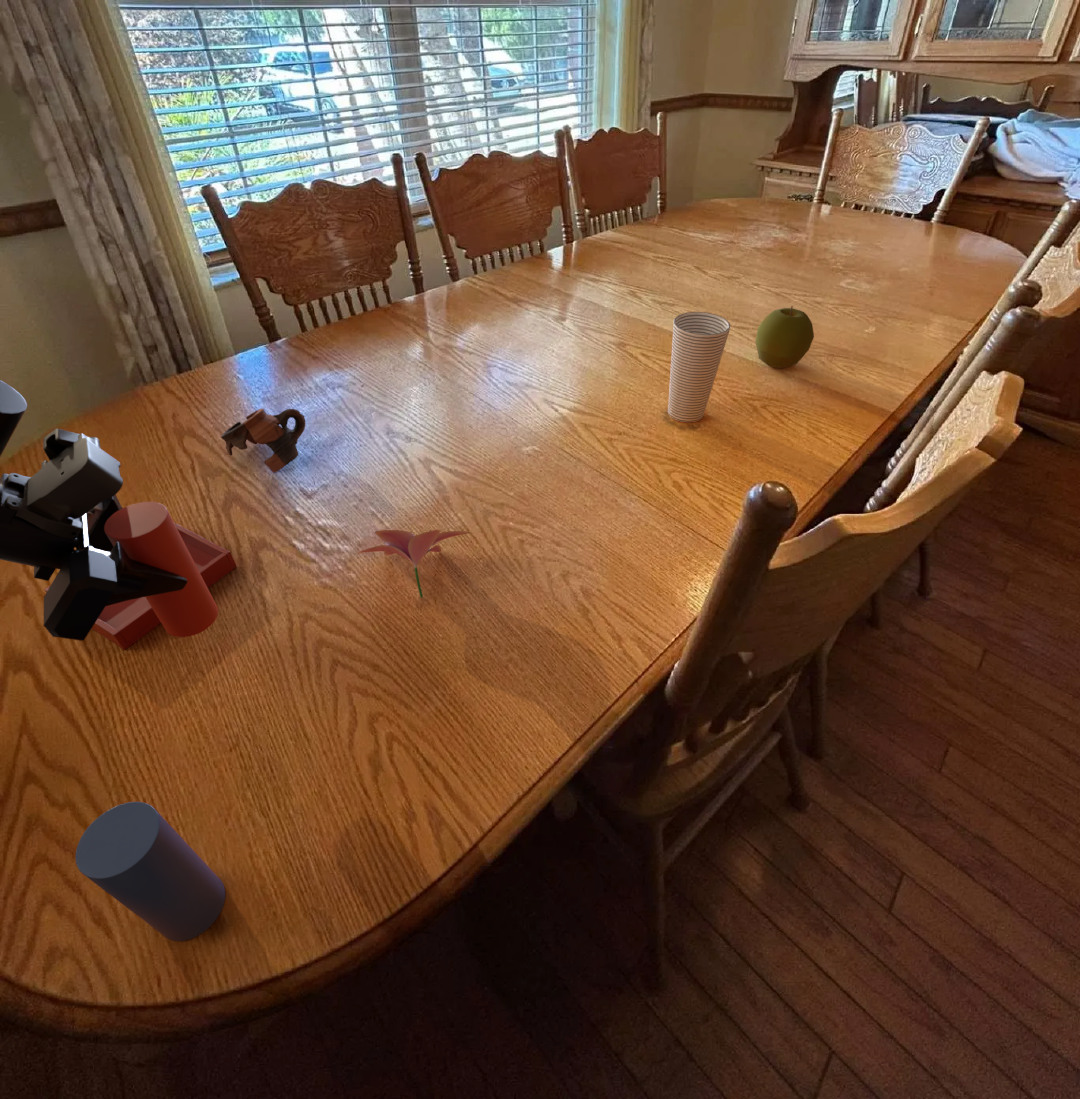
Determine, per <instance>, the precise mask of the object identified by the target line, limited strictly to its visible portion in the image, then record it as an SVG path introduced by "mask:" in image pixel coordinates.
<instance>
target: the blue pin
mask: <svg viewBox="0 0 1080 1099" xmlns="http://www.w3.org/2000/svg"><path fill="white" fill-rule="evenodd" d="M75 864H76V867H77V869H78V871H79V872H80V873H81V874H82V875H83V876H84V877H86V878H87V879H89V880H90V881H91V882H93V883H94V884H95V885H97V886H98V887H99V888H100V889H102V890H103V891H104V892H106V893H107V894H108V895H110V897H112V898H114V899H115V900H116V901H118V902H119V903H120V904H121V905H123V906H124V907H125V908H126V909H128V910H129V911H131V912H132V913H133V914H135V915H136V916H137V917H138V918H140V919H141V920H143V921H144V922H145V923H147V924H148V925H149V926H150V927H151V928H153V929H154V930H156V931H157V932H158V933H160V934H161V936H164V937H165V938H166V939H168V940H170V941H174V942H185V941H189V940H192V939H195V938H196V937H199V936H200V935H202V934H203V933H204V932H206V931H207V930H208V929H209V928H211V926H212V925H213V924H214V923H215V922H216V920H217V919H218V917H219V916H220V914H221V912H222V910H223V907H224V906H225V901H226V889H225V888H226V887H225V885H224V883H223V881H222V880H221V878H220V877H219V876H218V875H217V873H215V872H214V871H213V870H212V869H211V868H210V866H209V865H207V863H206V862H205V861H204V860H203V859H202V858H201V857H200V856H199V855H198V854H197V852H195V850H194V848H192V847H191V846H190V845H189V844H188V843H187V842H186V841H185V840H184V839H183V837H182V836H181V835H180V834H179V833H178V832H177V831H176V830H175V829H174V828H173V827H172V826H171V825H170V824H169V822H168V821H167V820H166V819H165V818H164V817H163V816H162V815H161V814H160V813H159V812H158V810H157V809H156V808H154V807H153V806H152V805H151V804H149V803H146V802H143V801H128V802H125V803H121V804H118V805H115V806H113V807H111V808H109V809H108V810H106V811H104V812H103V813H102V814H100V815H99V816H98V817H97V818H96V819H94V820H93V821H92V822H91V823H90V824H89V826H87V828H86V829H85V831H84V832H83V833H82V835H81V837H80V839H79V841H78V843H77V846H76V849H75Z"/></svg>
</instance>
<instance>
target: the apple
mask: <svg viewBox="0 0 1080 1099" xmlns="http://www.w3.org/2000/svg"><path fill="white" fill-rule="evenodd" d="M814 337H815V333H814V327H813V323H812V321H811V318H810V317H809V316H808V314H807V313H806V312H804V310H803V311H802V310H800V309H797V308H793V305H791V307H782V308H776V309H773V311H771V312H769V313H768V314H767V315H766V316H765V317H764V318H763V319H762V321H761V322H760V324H759V325H758V327H757V330H756V336H755V341H754V342H755V346H756V350H757V355H758V359H759V360H760V361H761V362H763V363H764V364H765V365H767V366H768V367H771V368H776V369H778V368H779V369H780V368H786V367H792V366H794V365H797V364H798V363H799V362H800V361H801V360H802V359H803V357H804V356H806V354H807V353H808V352H809V350H810V348H811V346H812V344H813V340H814Z"/></svg>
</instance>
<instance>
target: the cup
mask: <svg viewBox="0 0 1080 1099" xmlns="http://www.w3.org/2000/svg"><path fill="white" fill-rule="evenodd" d="M672 325H673V326H672V339H671V353H670V354H671V358H670V368H669V370H670V371H669V373H670V374H669V384H668V386H669V387H668V402H667V414H668V416H669V417H670V418H672V419H673V420H675V421H677V422H681V423H695V422H698V421H701V420H702V419H703V417H704V416H705V413H706V409H707V406H708V403H709V400H710V396H711V393H712V390H713V386H714V384H715V380H716V377H717V374H718V370H719V367H720V363H721V360H722V357H723V353H724V350H725V347H726V343H727V340H728V337H729V334H730V330H731V323H730V322H729V321H728V319H726V318H725V317H722V316H720V315H718V314H715V313H712V312H711V313H710V312H705V311H689V312H685V313H684V312H683V313H681V314H678V315H677V316H676V317H675V318H673V323H672Z"/></svg>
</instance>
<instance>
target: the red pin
mask: <svg viewBox="0 0 1080 1099" xmlns="http://www.w3.org/2000/svg"><path fill="white" fill-rule="evenodd" d="M174 523H175V522H174V519H173V518H172V516H171V514H170V512H169V510H168V508H167V507H166V505H164V504H162V503H160V502H157V501H141V502H136V503H132V504H130V505H127V506H124V507H122V509H120V510H119V511H117V512H115V513H114V514H113V515H112V516H110V517H109V519H108V520H107V521H106V523H105V525H104V531H105V533H106V535H107V537H108V538H109V540H110V541H111V543H112V545H113V546H115V544H116V543H117V542H119V543H120V544H121V546H122V547H123V549H124V550H125V552H126V553H127V555H128V556H129V558H130V559H132V560H135V561H138V562H141V563H144V564H147V565H150V566H153V567H156V568H159V569H162V570H165V571H168V572H171V573H174V574H177V575H179V576H181V577H184V578H186V579H187V584H186V586H185V587H184V588H183V589H182V590H178V591H173V592H168V593H162V594H157V595H152V596H147V597H145V598H146V599H147V601H148V602H149V604H150V606H151V607H152V609H153V610H154V612H155V614H156V615H157V617H158V619H159V620H160V622H161V625H162V627H163V628H164V630H165V631H166V633H167V634H169V635H170V636H171V637H176V638H189V637H193V636H195V635H198V634H200V633H202V632H204V631H206V630H207V629H209V628H210V627H211V626H212V625H213V624H214V623H215V622H216V620H217V618H218V615H219V608H218V605H217V604H216V601H215V599H214V598H213V596H212V594H211V592H210V590H209V588H207V586H206V584H205V582H204V580H203V578H202V576H201V574H200V572H199V570H198V569H197V567H196V565H195V563H194V561H193V559H192V557H191V555H190V553H189V551H188V549H187V547H186V545H185V543H184V541H183V539H182V537H181V535H180V534H179V532H178V530H177V528H176V526H175V524H174Z"/></svg>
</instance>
